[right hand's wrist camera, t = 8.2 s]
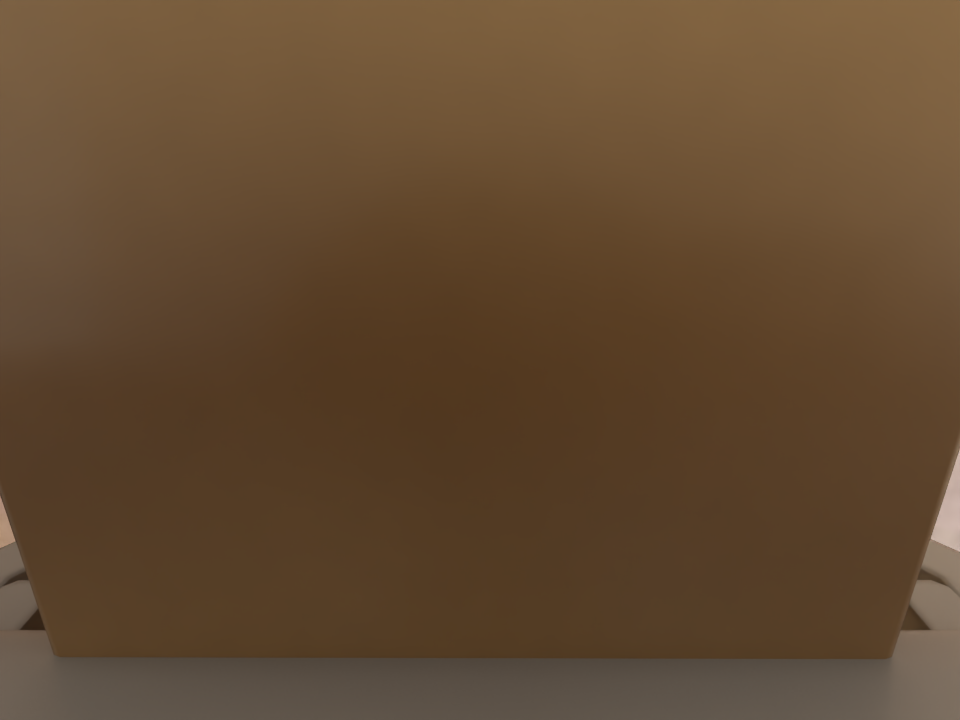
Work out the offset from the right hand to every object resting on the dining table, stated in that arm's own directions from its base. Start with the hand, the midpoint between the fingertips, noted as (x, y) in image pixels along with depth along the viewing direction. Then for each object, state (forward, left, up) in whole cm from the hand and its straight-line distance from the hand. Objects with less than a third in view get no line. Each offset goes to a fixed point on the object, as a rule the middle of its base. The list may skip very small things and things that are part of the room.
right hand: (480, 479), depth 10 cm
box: (+8, 0, -4) cm, 9 cm away
